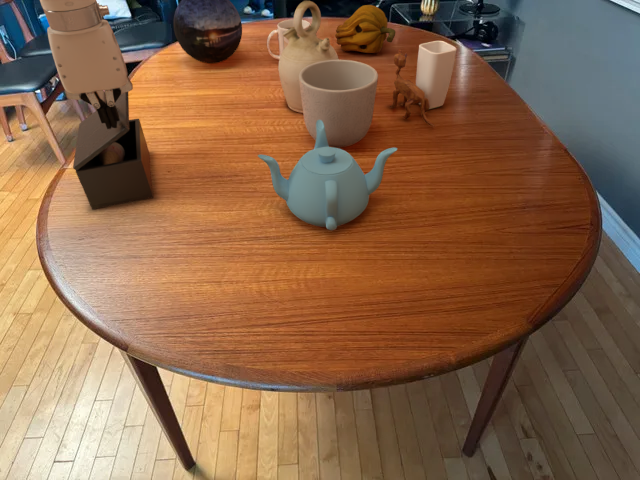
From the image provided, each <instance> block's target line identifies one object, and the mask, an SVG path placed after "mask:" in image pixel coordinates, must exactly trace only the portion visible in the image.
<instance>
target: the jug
mask: <svg viewBox="0 0 640 480" xmlns="http://www.w3.org/2000/svg"><path fill="white" fill-rule="evenodd" d="M308 9H309V10H310V12H311V17H312V18H311V23H310V28H309V29H307V30H304V29H303V26H302V20H303V17H304V15H305V12H306V11H307V10H308ZM293 19H294V27H293V28H291V29H289V30H287V31H286V32H284V33H283V36H284V37H285V38H286V39H288V41H289V43H288V45H287V47H285V48H284V50H283V52H282V54H281V56H280V59H278V66H277V67H278V68H277V69H278V76H279V77H278V78H279V81H280V86H281V88H282V93H283V95H284V98H285V101H286V104H287V106H288V108H289V109H290V110H292V111H293V112H296V113H299V114H303V107H302V99H301V91H300V83H299V74H300V72H301V70H302V69H304V68H305V67H307V66H308V65H311V64H313V63H316V62H320V61H326V60H340V59H339V55H338V54H337V52H336V51H337V50H336V49H335V48H334V47H333V45H331V44H330V42H331V41H330V39H329V37H325V38H323V39H322V38H320V37H318V35H317V33H318V32H319V29H320V28H321V22H322V14H321V10H320V8H319V6H318V5H317V4H316V3H315V2H314V1H311V0H303V1H302V2H300V3H299V4H298V5H297V6H296V9H295V11H294V14H293ZM297 33H298V34H299V35H300V37H299V36H298V35H297Z"/></svg>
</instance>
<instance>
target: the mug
mask: <svg viewBox="0 0 640 480" xmlns="http://www.w3.org/2000/svg"><path fill="white" fill-rule="evenodd" d="M302 26H303V29H304V30H307V29H309V28H310V26H311V22H310V21H307V20H305V19H302ZM293 27H294V18H291V19H285V20H282V21H280V22H278V23H277V25H276V29H274V30H272V31H271V32H269V34H268V35H267V39H266V48H267V51H268V54H269V55H270V56H271V58H273V59H275V60H280V56H281V54H282V52H283V50H284V48H285V47H287V45H288V43H289V41H288V39H286V38H285V37H284V36H283V33H284V32H286V31H287V30H289V29H291V28H293ZM275 35H277V41H278V42H277V43H278V52H279V53H278V54H279V55H278V54H275V53H273V51H272V50H271V48H270V43H271V39H272V38H273V37H274V36H275ZM297 35H298V36H299V37H300V35H299V34H298V33H297Z"/></svg>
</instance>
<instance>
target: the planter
mask: <svg viewBox="0 0 640 480" xmlns="http://www.w3.org/2000/svg"><path fill="white" fill-rule="evenodd" d="M378 80H379V73H378V72H377V70H376V69H375V68H374V67H373V66H371V65H370V64H367V63H364V62H361V61H357V60H351V59H339V60H326V61H320V62H316V63H313V64H311V65H308V66H307V67H305V68H304V69H302V70H301V72H300V74H299V83H300V91H301V99H302V107H303V113H302V115H303V121H304V126H305V128H306V130H307V132H308V134H309V135H310V137H312V139H314V141H316V135H317V130H316V122H317V120H322V122H323V123H324V126H325V132H326V137H327V141H328V145H329V147H334V148H345V147H349V146H352V145H355V144H357V143H359V142H360V141H361V140H363V138H364V137H365V136H366V135H367V134H368V132H369V130H370V127H371V125H372V122H373V117H374V109H375V101H376V96H377V95H376V94H377V88H378Z"/></svg>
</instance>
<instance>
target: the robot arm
mask: <svg viewBox="0 0 640 480" xmlns="http://www.w3.org/2000/svg"><path fill="white" fill-rule="evenodd" d="M39 2H40V5H41V8H42V10H43V13H44V15H45V18H46V20H47V23H48V25H49V26H48V27H47V30H46V31H47V38H48V43H49V48H50V52H51V55H52V58H53V61H54V65H55V68H56V70H57V73H58V77H59V80H60V82H61V85H62V87H63V89H64V90H65V97H66V98H67V99H68V100H75V101H76V100H77V101H80V100H81V101H83V102H85V103H87V104H89V105H90V106H91V107H93V109H95V110H96V111H97V112H98V115H99V117H100V120H101V123H105V124H106V127H107V129H111V128H117V121H120V118H119V114H118V112H117V109H116V106H115V102H116V101H117V99H118V98H119V96H120V95H121V94H124V93H126V92H128V93H129V92H131V91H132V90H134V89H133V88H134V85H133V83H132V81H131V79H130V77H129V76H128V75H129V73H128V68H127V65H126V62H125V59H124V57H123V54H122V53H123V52H122V51H121V47H120V45H119V42H118V40H117V38H116V35H115V33H114V31H113V29H112V27H111V25H110V23H109V21H108V20H107V19H103V17H106V16H110V15H111V13H110V10H109V6H108V5H107V4H106V5H105V4H104V5H102V4H100V2H98V1H97V0H39ZM102 90H103V91H104V92H105V94H106V103H105V102H104V101H103V100H102V99H101V98H100V96H99V94H98V93H97V91H102Z"/></svg>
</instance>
